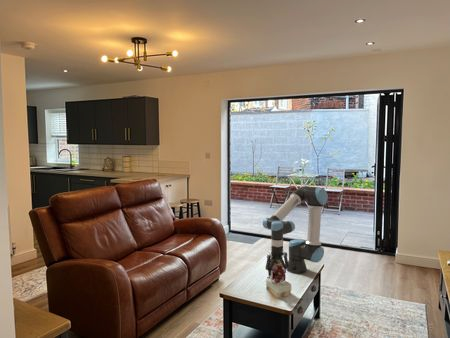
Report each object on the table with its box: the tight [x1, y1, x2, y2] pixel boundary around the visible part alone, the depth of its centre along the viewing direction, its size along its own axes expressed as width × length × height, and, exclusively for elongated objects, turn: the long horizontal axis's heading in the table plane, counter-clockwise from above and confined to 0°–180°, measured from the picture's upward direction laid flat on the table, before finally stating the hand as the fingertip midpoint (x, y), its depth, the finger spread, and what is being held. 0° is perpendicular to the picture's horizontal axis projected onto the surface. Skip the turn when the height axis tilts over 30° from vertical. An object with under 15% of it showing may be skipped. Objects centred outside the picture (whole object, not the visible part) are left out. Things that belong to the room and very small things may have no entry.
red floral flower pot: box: [272, 263, 287, 283], centre depth 228 cm, size 7×12×10 cm, turn 41°
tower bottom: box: [265, 284, 292, 299], centre depth 229 cm, size 10×14×4 cm
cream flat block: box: [265, 278, 292, 294], centre depth 229 cm, size 10×14×4 cm
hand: (277, 278), depth 228 cm, fingers closed on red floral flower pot, 8 cm apart
